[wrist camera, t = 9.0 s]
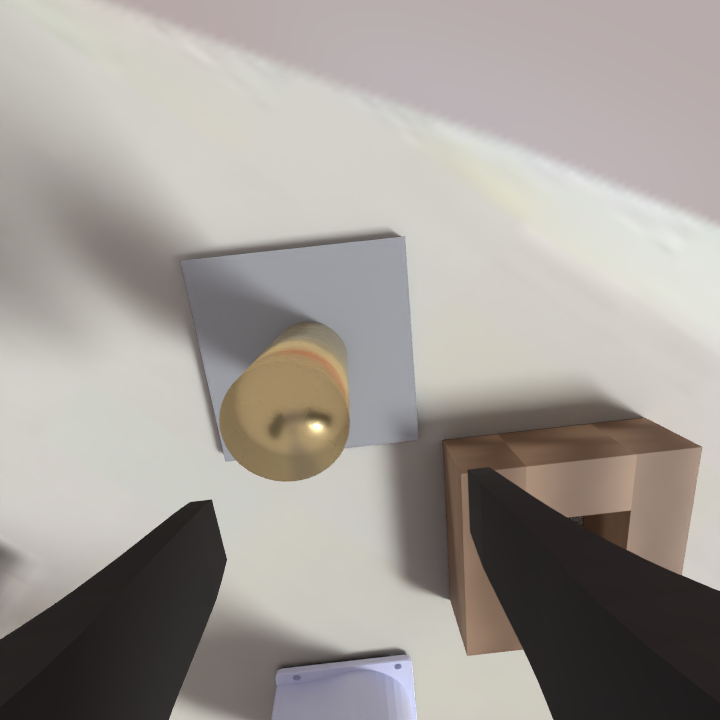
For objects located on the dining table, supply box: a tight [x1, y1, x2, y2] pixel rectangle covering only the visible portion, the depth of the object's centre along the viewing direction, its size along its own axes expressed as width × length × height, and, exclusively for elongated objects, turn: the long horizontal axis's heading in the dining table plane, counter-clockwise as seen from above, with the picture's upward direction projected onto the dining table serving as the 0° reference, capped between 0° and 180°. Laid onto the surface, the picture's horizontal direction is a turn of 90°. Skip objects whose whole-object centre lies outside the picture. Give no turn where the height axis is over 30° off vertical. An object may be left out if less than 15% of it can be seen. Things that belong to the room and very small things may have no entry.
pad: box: [180, 236, 419, 462], centre depth 19 cm, size 11×11×1 cm
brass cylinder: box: [219, 322, 350, 481], centre depth 15 cm, size 4×4×8 cm
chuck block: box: [443, 418, 702, 656], centre depth 21 cm, size 12×12×4 cm
